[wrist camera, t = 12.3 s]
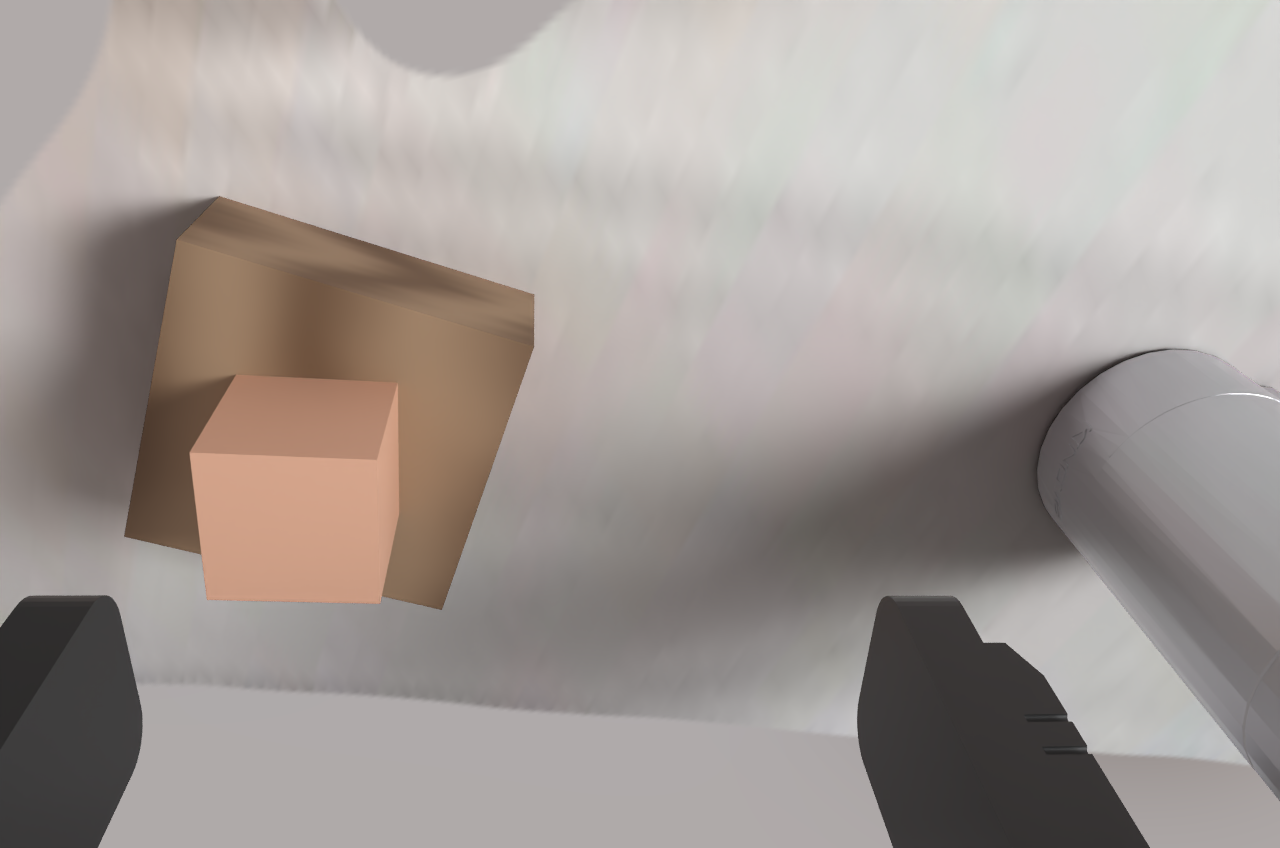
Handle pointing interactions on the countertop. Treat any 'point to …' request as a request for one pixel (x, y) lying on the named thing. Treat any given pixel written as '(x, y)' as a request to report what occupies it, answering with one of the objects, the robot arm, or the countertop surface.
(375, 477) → the terracotta cube
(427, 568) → the walnut block
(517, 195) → the countertop surface
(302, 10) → the countertop surface
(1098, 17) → the countertop surface
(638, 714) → the countertop surface
